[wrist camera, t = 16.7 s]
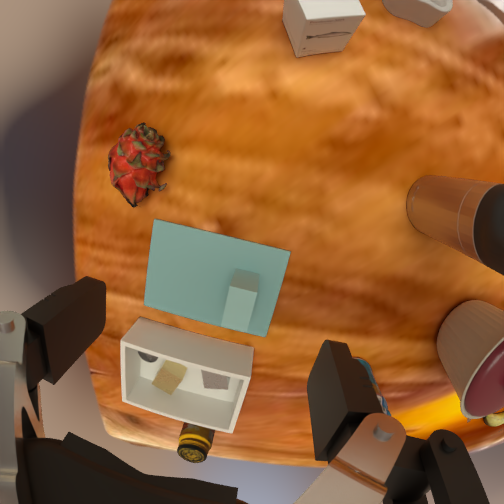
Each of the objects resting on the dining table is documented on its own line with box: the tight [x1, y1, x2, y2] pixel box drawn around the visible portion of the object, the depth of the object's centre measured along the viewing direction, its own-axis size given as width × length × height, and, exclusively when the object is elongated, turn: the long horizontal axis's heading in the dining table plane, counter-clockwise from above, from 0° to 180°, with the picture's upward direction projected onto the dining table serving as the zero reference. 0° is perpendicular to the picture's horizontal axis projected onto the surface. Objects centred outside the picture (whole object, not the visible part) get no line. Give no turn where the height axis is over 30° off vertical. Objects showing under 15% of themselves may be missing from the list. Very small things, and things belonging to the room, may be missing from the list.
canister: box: [437, 300, 504, 419], centre depth 35 cm, size 18×18×21 cm
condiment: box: [177, 422, 215, 463], centre depth 47 cm, size 7×8×12 cm
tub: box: [121, 317, 254, 433], centre depth 46 cm, size 20×14×8 cm
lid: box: [144, 219, 291, 337], centre depth 42 cm, size 21×15×8 cm
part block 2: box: [201, 370, 230, 390], centre depth 46 cm, size 4×4×4 cm
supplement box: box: [283, 0, 366, 58], centre depth 28 cm, size 7×7×13 cm
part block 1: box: [152, 360, 187, 395], centre depth 48 cm, size 4×5×4 cm
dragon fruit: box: [108, 123, 170, 207], centre depth 38 cm, size 8×8×12 cm
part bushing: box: [138, 351, 158, 363], centre depth 46 cm, size 4×4×4 cm
